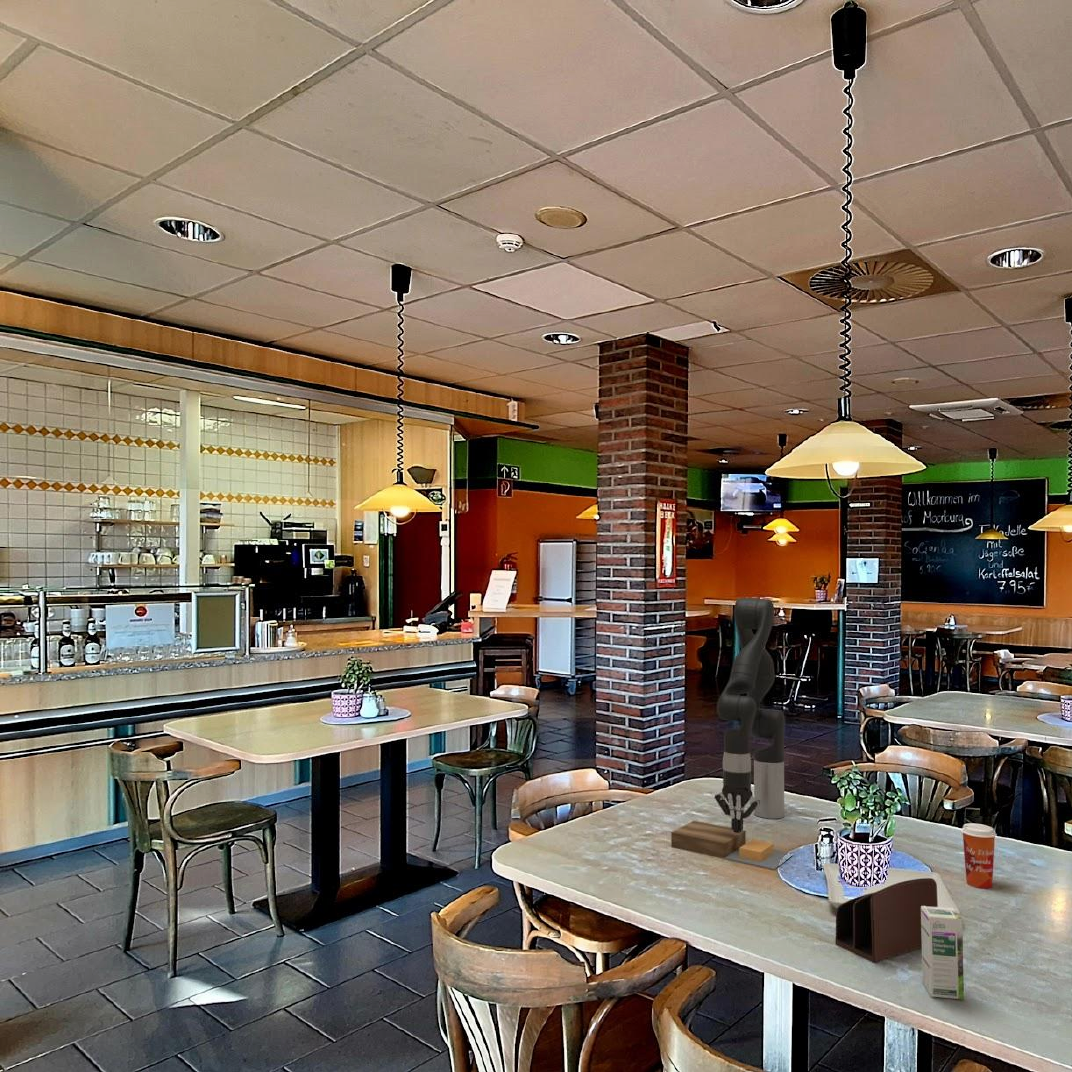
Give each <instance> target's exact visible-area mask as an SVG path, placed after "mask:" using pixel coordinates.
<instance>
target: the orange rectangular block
mask: <svg viewBox="0 0 1072 1072" xmlns="http://www.w3.org/2000/svg"><path fill="white" fill-rule="evenodd" d="M774 847H775V846H774V843H772V842H766V841H761V840H757V839H751V840H749V841H748V842H746V844H744V845H743V846H741V847H740V848H739V857H741V858H745V859H750V860H754V861H759V862H761V861H763V860H764V859H766V858H767V857H769V856H770V855H771V854H773V853H774V849H775V848H774Z"/></svg>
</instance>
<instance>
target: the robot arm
mask: <svg viewBox="0 0 1072 1072" xmlns="http://www.w3.org/2000/svg"><path fill="white" fill-rule="evenodd" d="M733 610H734V612H733V613H734V621H735V622H734V623H735V627H736V631H737V635H738V640H739V644H740V651H739V652H738V653H737V655H736V656H735V658H734V660H733V662H732V667H731V672H730V677H729V679H728V681H727V683H726V686H725V687H724V689H723V691H722V693H721V695H720V696H719V697H718V700H717V705H716V713H717V715H718V716H719V719H722V720H724V721H728V722H729V721H730V722H731V721H732V722H740V724H741V725H740V726H739V727H737V728H731V729H730V728H729V729H727V730H725V731H724V733H723V757H722V774H723V775H722V784H723V787H722V789H721V792H719V793H717V794H715V795H714V799H715V801H716V802H717V804H718V806H719V807H720V809H721V810H722V812H723V813H724V815H726V816H729V817H730V818H731V822H730V823H731V827H730V828H732V830H733V832H736V833H740V832H741V831H742V830H743V831H744V819H747V818H749V817H750V816H751V815H752V814H753V813H754V815H755V816H757V817H759V818H764V819H769V820H770V819H775V820H777V819H781V818H784V817H785V729H786V728H785V727H786V725H785V723H786V722H785V721H786V720H785V719H786V718H785V714H784V712H783V711H782V710H780V709H771V708H760V704H761V702H762V700H763V699H764V697H765V696H766V695H767V693H768V692H769V691H770V689H771V688H772V686H773V684H774V682H775V678H776V675H775V666H774V660H773V658H772V656H771V654H770V653H769V652H768V650H767V649H766V646H767V645H766V644H767V643H768V639H769V636H770V634H771V630H772V628H773V623H774V622H775V621H774V620H775V607H774V603H773V601H772V600H770V599H767V598H758V597H754V598H753V597H740V598H738V599H737V600H736V601H735V604H734V609H733ZM753 630H756V632H755V634H754V633H753ZM743 694H746V695H743ZM751 736H752V737H754V738H759V739H768V740H769V739H770V740H772V743H771V744H769V745H766V746H762V747H759V748H757V749H755V750H754V751H753V785H754V786H753V791H752V759H751ZM748 803H749V807H748V808H747V809H746V805H747V804H748ZM745 809H746V810H745Z"/></svg>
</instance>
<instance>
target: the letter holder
mask: <svg viewBox="0 0 1072 1072" xmlns="http://www.w3.org/2000/svg"><path fill="white" fill-rule="evenodd" d="M921 906H927V907H938V900H937V884H936V881H935V880H934V879H932V878H922V879H914V880H908V881H903V882H900V883H896V884H894V885H891V886H888V887H886V888H884V889H882V890H879V891H877V892H874V893H870V894H866V895H863V896H860V897H857V898H854V899H851V900H849V901H847V902H845V903H843V904H841V905H840V906H838V908H836V910H835V942H834V943H835V945H837V946H838V947H841V948H843V949H845V950H847V951H849V952H851V953H853V954H855V955H857V956H859V957H861V958H862V959H863V958H864V959H865V960H867V961H869V962H872V963H874V964H876V963H878V962H881V961H885V960H888V959H891V958H894V957H897V956H900V955H904V954H907V953H910V952H913V951H917V950H920V949H922V934H921Z"/></svg>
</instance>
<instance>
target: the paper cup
mask: <svg viewBox="0 0 1072 1072" xmlns="http://www.w3.org/2000/svg"><path fill="white" fill-rule="evenodd" d="M961 833H962V840H963V841H962V842H963V852H964V854H963V855H964V866H965V878H966V885H968V886H970V887H972V888H976V889H983V890H986V889H987V890H988V889H991V888H992V887H993V882H994V881H993V879H994V877H993V875H994V857H995V839H996V838H995V837H997V835H998V834H997V833H996V830H995V829H994V828H993V827H992V826H988V825H986V824H981V823H975V822H974V823H972V822H971V823H965V824H963V825H962V828H961Z"/></svg>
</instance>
